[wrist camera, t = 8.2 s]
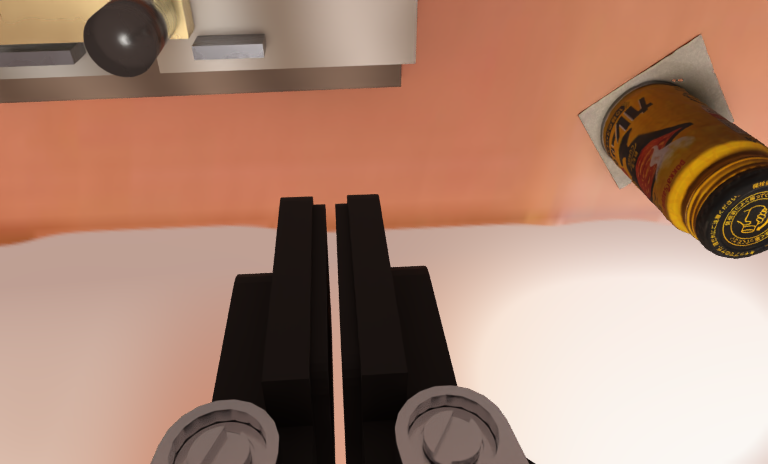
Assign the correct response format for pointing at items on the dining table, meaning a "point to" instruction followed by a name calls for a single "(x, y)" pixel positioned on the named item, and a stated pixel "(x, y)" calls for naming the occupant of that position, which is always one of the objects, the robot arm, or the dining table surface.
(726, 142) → the condiment
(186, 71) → the grey brown double block
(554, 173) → the dining table surface
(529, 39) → the dining table surface
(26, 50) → the lock hardware
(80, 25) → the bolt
